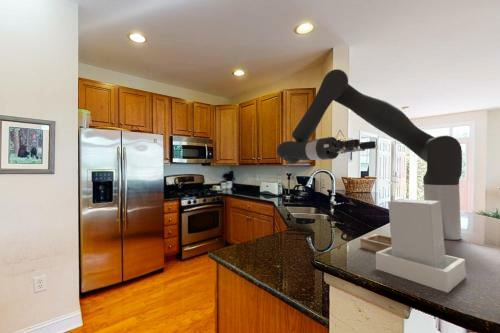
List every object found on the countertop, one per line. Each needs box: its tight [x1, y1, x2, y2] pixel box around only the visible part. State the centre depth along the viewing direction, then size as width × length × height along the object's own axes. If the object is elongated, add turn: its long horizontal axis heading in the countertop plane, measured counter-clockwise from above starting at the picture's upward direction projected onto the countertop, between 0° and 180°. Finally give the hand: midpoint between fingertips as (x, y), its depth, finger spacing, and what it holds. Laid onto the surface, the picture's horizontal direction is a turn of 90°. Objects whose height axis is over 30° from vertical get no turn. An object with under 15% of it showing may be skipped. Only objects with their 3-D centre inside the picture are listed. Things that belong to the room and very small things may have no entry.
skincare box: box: [387, 198, 446, 270], centre depth 50 cm, size 8×6×15 cm
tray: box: [375, 246, 467, 294], centre depth 49 cm, size 11×13×4 cm
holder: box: [359, 233, 392, 253], centre depth 64 cm, size 9×11×2 cm
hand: (367, 143), depth 67 cm, fingers open, 8 cm apart
